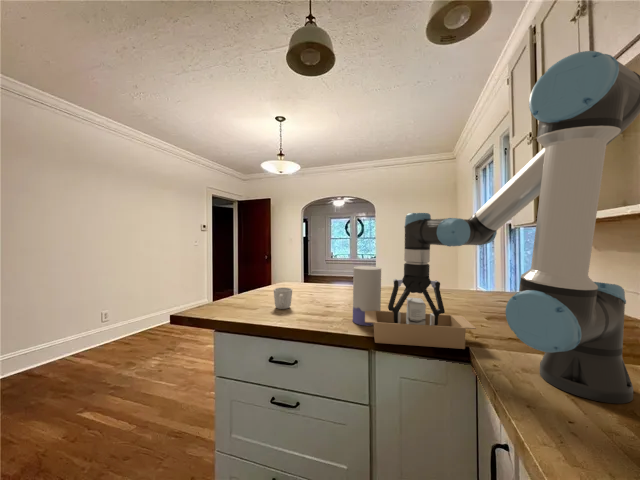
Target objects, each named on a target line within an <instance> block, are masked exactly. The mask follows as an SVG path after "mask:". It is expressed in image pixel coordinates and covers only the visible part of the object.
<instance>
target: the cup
mask: <svg viewBox="0 0 640 480" xmlns="http://www.w3.org/2000/svg"><path fill="white" fill-rule="evenodd" d="M273 299H274V307H275V308H277V309H278V310H287V309H289V308H290V307H291V305H292V299H293V288H290V287H276V288H274V289H273Z"/></svg>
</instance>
